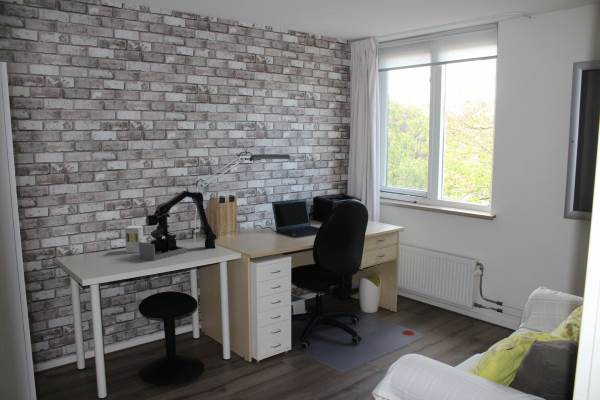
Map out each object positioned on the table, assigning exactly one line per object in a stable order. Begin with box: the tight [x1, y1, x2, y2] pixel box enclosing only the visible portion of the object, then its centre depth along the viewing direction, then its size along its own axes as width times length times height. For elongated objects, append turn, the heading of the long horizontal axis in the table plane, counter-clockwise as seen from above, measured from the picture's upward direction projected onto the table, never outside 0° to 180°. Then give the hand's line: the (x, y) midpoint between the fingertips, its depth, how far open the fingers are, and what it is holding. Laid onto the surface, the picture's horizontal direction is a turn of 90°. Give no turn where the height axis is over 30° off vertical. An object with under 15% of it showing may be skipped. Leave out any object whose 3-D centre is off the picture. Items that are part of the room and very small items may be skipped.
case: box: [139, 242, 188, 262], centre depth 319 cm, size 27×14×10 cm, turn 144°
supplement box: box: [124, 225, 145, 254], centre depth 331 cm, size 10×9×17 cm
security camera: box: [149, 237, 178, 254], centre depth 320 cm, size 7×18×10 cm, turn 136°
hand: (164, 247), depth 320 cm, fingers open, 9 cm apart
